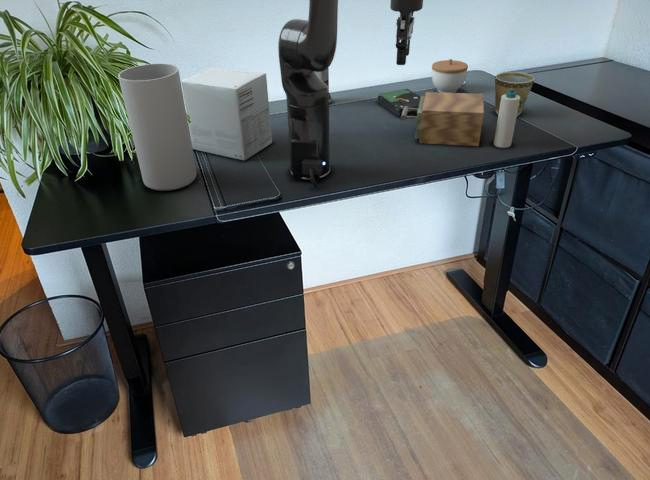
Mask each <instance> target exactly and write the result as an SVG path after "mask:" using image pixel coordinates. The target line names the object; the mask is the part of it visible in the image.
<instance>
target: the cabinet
mask: <svg viewBox="0 0 650 480" xmlns="http://www.w3.org/2000/svg"><path fill="white" fill-rule="evenodd" d="M424 96H425V100H424V104H423V109H422V119H421V130H420V139H419V141H418V142H419V144H426V145H448V146H463V147H464V146H465V147H479V146H480V141H481V134H482V126H483V121H484V115H485V106H484V105H485V104H484V93H469V92H454V93H441V92H438V91H437V92H435V91H426V92H425V95H424Z"/></svg>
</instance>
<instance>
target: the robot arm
mask: <svg viewBox="0 0 650 480" xmlns="http://www.w3.org/2000/svg"><path fill="white" fill-rule="evenodd" d="M389 6H390V10H391V11H392V12H396V13H397V12H398V13H399V16H397V19H396V21H395V26H396V31H395V39H396V40H395V48H396V61H395V62H396V63H395V64H396V66H405V65H406V63H407V57H408V56H409V55H410V49H411V39H412V35H413V33H414V26H415V16H414V13H415V12H419V11H420V10H422V9H423V7H424V0H390V5H389ZM338 20H339V0H308V18H307V19H300V18H293V19H289V20H288V21H286V22H285V23H284V25H283V26H282V28H281V30H280V32H279V35H278V42H277V43H278V45H277V48H278V49H277V51H278V62H279V70H280V79H281V85H282V86H281V87H282V89H283V92H284V94H285V97H286V112H287V128H288V129H287V130H288V145H289V163H290V169H289V170H290V175H291V177H292V179H293V180H294V181H306V182H307V181H308V182H311V184H312V186H313V187H314V188H317V187H318V182H320V181H321V180H322V179H324V178H326V177H328V176H329V175H330V174H331V155H330V153H331V152H330V103H329V93H330V89H329V90H328V87H327V85H326V84H325V83H324V82H323V81H322V80H320V79H319V77H318V76H317V75H316V73H315V72H322V71H325V70H326V69H327V68H329V67H330V66H331V65H332V63H333V61H334V59H335V56H336V51H337V44H338V24H339V23H338V22H339V21H338Z"/></svg>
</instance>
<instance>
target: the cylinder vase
mask: <svg viewBox="0 0 650 480" xmlns="http://www.w3.org/2000/svg"><path fill="white" fill-rule="evenodd" d="M117 77H118V81H119V85H120V91H121V95H122V98H123V103H124V106H125V112H126V116H127V119H128V123H129V128H130V132H131V136H132V140H133V144H134V145H133V146H134V149H135V153H136V157H137V162H138V165H139V170H140V174H141V179H142V182H143V185H144V186H145V187H147V188H149V189H150V190H153V191H161V192H168V191H174V190H179V189H182V188H184V187H187V186H189V185H190V184H192V183H193V182H194V181H195V180H196V178H197V168H196V163H195V156H194V150H193V148H192V142H191V136H190V130H189V125H188V118H187V113H186V107H185V101H184V95H183V89H182V84H181V81H182V80H181V75H180V69H179V67H178V66H177V65H175V64H170V63H147V64H140V65H135V66H132V67H128V68H126V69H124V70H121V71H120V72H119V73H118V74H117Z"/></svg>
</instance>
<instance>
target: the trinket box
mask: <svg viewBox="0 0 650 480" xmlns="http://www.w3.org/2000/svg"><path fill="white" fill-rule="evenodd" d="M468 68H469V65H468V63H466V62H464V61H460V60H453V58H449V59H445V60H439V61H435V62H433V63H432V64H431V82H432V85H433V86H434V88H435V89H436V91H437V92H440V93H457V91H458V90H459V89H461V87H462V86H463V84H464V83H465V80H466V78H467V75H468V74H467V72H468Z"/></svg>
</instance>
